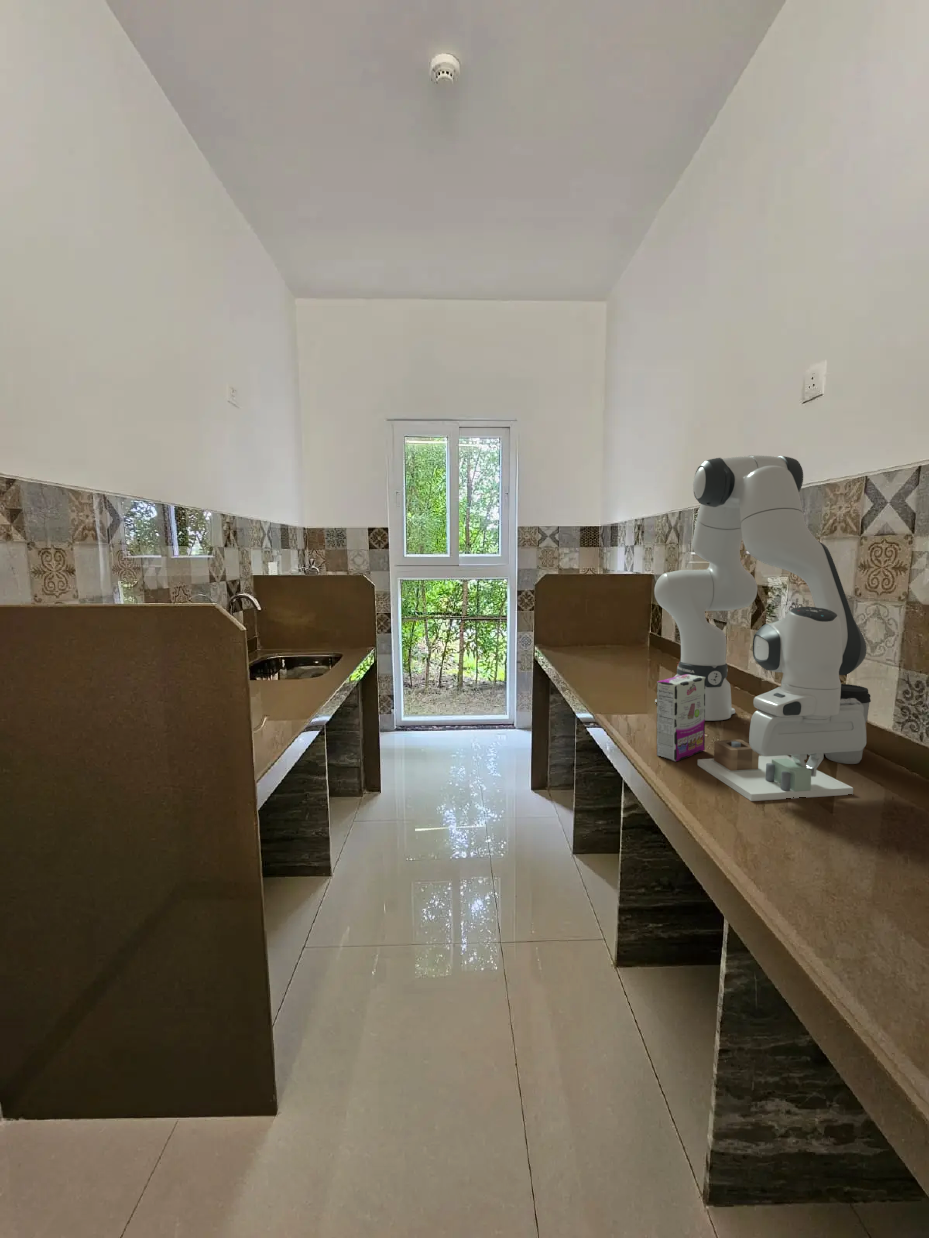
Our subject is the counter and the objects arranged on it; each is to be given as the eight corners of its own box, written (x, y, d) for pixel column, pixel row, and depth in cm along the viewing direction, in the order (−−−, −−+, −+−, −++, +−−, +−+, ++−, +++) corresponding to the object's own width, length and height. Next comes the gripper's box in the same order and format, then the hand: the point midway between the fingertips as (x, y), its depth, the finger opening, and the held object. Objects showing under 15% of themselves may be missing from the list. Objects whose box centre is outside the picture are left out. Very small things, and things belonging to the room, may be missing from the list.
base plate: (697, 765, 109) (698, 737, 108) (784, 760, 111) (786, 733, 110) (751, 801, 92) (752, 768, 91) (852, 794, 94) (854, 762, 93)
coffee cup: (876, 767, 106) (880, 692, 105) (829, 764, 108) (832, 691, 106) (854, 752, 114) (858, 683, 113) (811, 750, 116) (814, 682, 115)
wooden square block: (713, 760, 108) (714, 740, 107) (740, 758, 108) (740, 739, 108) (730, 770, 102) (731, 750, 102) (758, 769, 103) (758, 748, 102)
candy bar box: (684, 745, 121) (685, 673, 119) (705, 751, 117) (707, 676, 115) (654, 755, 114) (655, 680, 113) (675, 762, 110) (677, 684, 109)
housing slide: (771, 777, 99) (771, 759, 98) (786, 776, 99) (786, 758, 99) (794, 791, 93) (795, 771, 92) (810, 790, 93) (811, 770, 93)
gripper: (848, 693, 99) (844, 766, 100) (745, 698, 97) (742, 772, 98) (878, 701, 93) (874, 779, 94) (768, 707, 90) (765, 786, 92)
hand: (806, 776), depth 96 cm, fingers closed
